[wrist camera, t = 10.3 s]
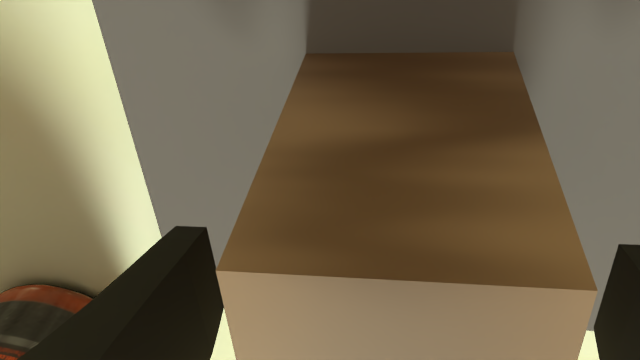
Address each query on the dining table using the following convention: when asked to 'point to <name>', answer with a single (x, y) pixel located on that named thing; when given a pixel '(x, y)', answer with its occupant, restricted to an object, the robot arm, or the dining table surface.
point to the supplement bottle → (34, 316)
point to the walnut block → (406, 220)
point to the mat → (371, 37)
